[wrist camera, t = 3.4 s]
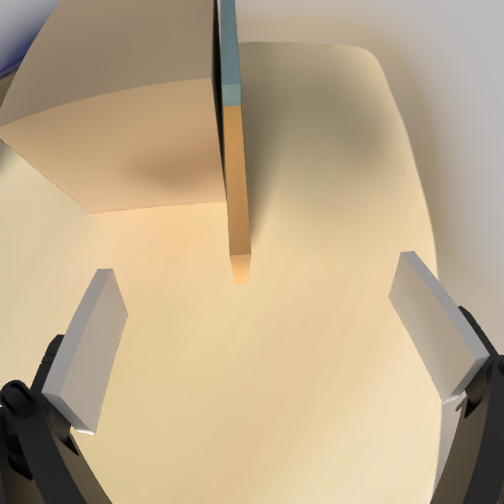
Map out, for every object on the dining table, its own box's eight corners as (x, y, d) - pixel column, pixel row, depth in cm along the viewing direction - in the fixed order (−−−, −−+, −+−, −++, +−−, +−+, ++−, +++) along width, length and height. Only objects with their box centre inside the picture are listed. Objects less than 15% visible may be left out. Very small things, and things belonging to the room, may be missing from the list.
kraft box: (91, 213, 24) (-9, 130, 11) (111, 92, 27) (64, -5, 14) (226, 200, 25) (211, 78, 11) (222, 77, 28) (215, -39, 14)
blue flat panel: (235, 285, 22) (228, 246, 10) (225, 67, 26) (220, -35, 15) (247, 284, 22) (252, 244, 10) (233, 66, 26) (231, -35, 15)
